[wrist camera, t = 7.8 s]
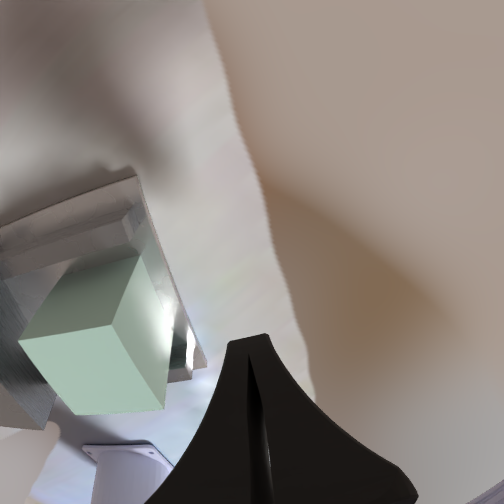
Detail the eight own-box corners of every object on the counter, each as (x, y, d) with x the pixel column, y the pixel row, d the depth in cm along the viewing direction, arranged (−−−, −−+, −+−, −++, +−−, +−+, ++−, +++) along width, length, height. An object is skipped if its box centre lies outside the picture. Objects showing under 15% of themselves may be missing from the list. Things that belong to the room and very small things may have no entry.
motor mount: (207, 361, 19) (208, 433, 14) (11, 383, 19) (-12, 431, 14) (131, 155, 13) (86, 183, 8) (-70, 248, 13) (-114, 287, 8)
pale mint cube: (173, 332, 17) (164, 409, 12) (99, 345, 17) (75, 415, 12) (140, 255, 15) (111, 324, 10) (61, 276, 15) (17, 340, 10)
